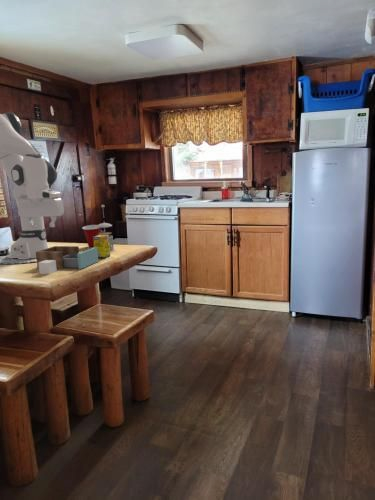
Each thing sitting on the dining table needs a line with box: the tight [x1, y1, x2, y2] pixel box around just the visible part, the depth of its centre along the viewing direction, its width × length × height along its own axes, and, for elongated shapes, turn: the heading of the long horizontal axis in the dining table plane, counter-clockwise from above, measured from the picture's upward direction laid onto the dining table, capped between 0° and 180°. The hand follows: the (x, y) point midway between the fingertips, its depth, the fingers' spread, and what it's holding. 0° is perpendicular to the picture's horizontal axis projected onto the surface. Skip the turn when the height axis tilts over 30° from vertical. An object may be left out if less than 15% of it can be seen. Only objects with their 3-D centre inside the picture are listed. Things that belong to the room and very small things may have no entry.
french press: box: [97, 204, 116, 253], centre depth 207 cm, size 10×12×25 cm
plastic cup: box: [81, 224, 101, 248], centre depth 224 cm, size 11×11×12 cm
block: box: [38, 260, 58, 275], centre depth 165 cm, size 5×5×5 cm
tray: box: [63, 247, 99, 270], centre depth 177 cm, size 13×15×7 cm
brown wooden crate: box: [35, 245, 80, 270], centre depth 179 cm, size 13×14×8 cm
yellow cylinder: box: [93, 234, 111, 259], centre depth 192 cm, size 6×6×11 cm
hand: (42, 227), depth 162 cm, fingers open, 8 cm apart
